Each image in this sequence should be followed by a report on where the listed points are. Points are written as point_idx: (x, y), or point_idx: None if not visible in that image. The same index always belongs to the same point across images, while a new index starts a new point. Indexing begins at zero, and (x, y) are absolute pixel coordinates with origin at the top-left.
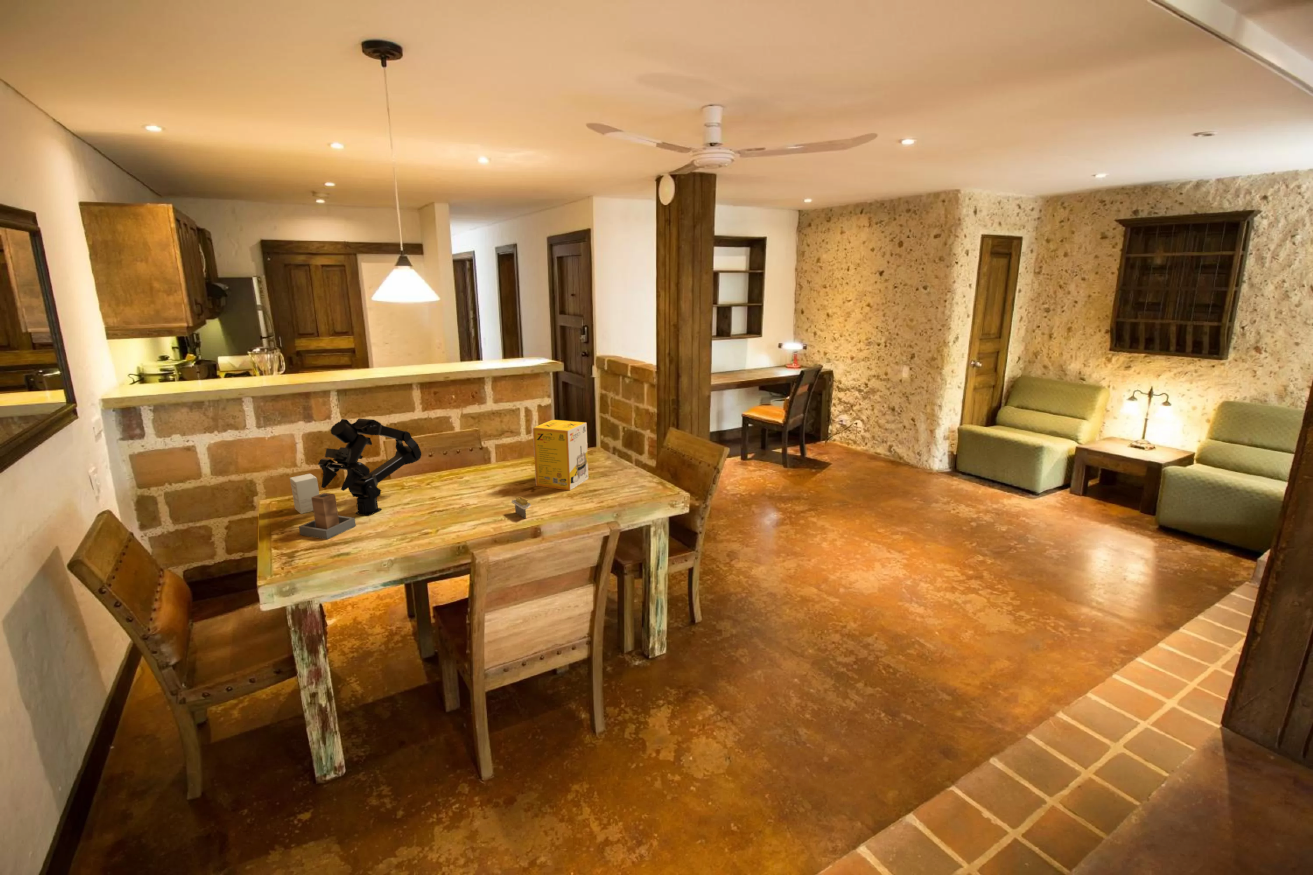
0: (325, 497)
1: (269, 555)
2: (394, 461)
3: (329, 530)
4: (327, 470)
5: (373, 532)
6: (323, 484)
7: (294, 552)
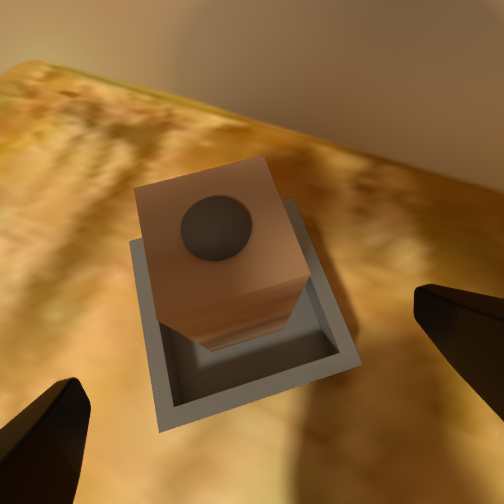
0: (150, 218)
1: (192, 102)
2: None
3: (133, 259)
4: None
5: None
6: (441, 304)
7: (144, 147)
